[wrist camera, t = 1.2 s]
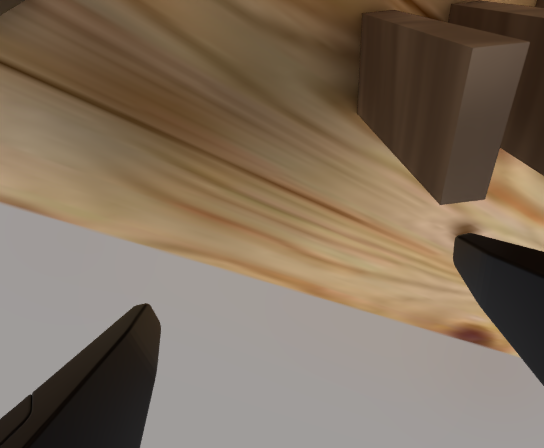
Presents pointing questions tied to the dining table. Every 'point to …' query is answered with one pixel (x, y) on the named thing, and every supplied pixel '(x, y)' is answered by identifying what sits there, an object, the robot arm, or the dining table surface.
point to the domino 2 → (534, 77)
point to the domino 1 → (438, 98)
